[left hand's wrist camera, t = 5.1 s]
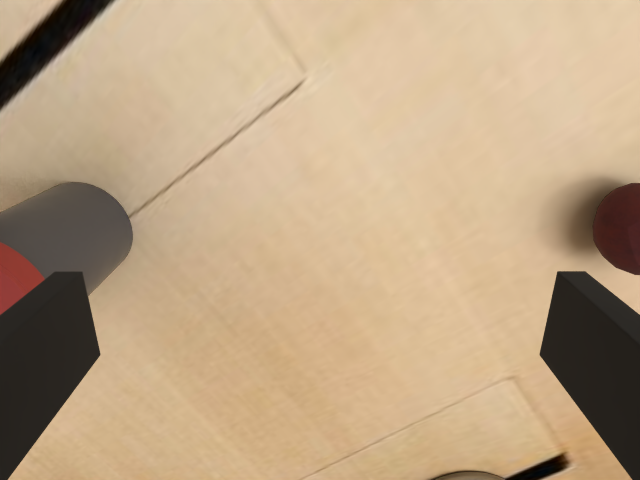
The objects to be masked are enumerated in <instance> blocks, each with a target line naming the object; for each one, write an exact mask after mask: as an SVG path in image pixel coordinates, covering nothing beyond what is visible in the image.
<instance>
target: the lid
mask: <svg viewBox="0 0 640 480" xmlns="http://www.w3.org/2000/svg"><path fill="white" fill-rule="evenodd" d="M44 280H45V279H44V277H43V276H42V275H41V274H40V272H39V271H38V270H37V269H36V268H35V267H34V266H33V265H32V264H31V263H30V262H29V261H28V260H27V259H26V258H24V257H23V256H22V255H21V254H19V253H18V252H17V251H15V250H13V249H12V248H10V247H9V246H7V245H5V244H3V243H1V242H0V315H1V314H2V313H3V312H5V311H6V310H7V309H8V308H10V307H11V306H12V305H13V304H15V303H16V302H17V301H18V300H20V299H21V298H22V297H23V296H25V295H26V294H27V293H28V292H30V291H31V290H32V289H33V288H35V287H36V286H37V285H39V284H40V283H41V282H42V281H44Z"/></svg>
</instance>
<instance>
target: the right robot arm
mask: <svg viewBox="0 0 640 480" xmlns="http://www.w3.org/2000/svg"><path fill="white" fill-rule="evenodd" d="M435 480H505V479H503V478H501V477H498V476H495V475H492V474H488V473H482V472H461V473H454V474H450V475H446V476H443V477H440V478H437V479H435Z"/></svg>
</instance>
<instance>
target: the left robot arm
mask: <svg viewBox="0 0 640 480" xmlns="http://www.w3.org/2000/svg"><path fill="white" fill-rule="evenodd" d="M99 356H100V350H99V346H98V341H97V336H96V332H95V327H94V323H93V318H92V313H91V309H90V304H89V299H88V295H87V290H86V285H85V281H84V276H83V271H55V272H54V273H52V274H51V275H50V276H49V277H47V278H46V279H45V280H44V281H42V282H41V283H40V284H39V285H37V286H36V287H35V288H33V289H32V290H31V291H30V292H28V293H27V294H26V295H25V296H23V297H22V298H21V299H20V300H18V301H17V302H16V303H15V304H13V305H12V306H11V307H10V308H8V309H7V310H6V311H5V312H3V313H2V314H1V315H0V480H8V478H9V477H10V476H11V474H12V473H13V472H14V470H15V469H16V468H17V466H18V465H19V464H20V462H21V461H22V460H23V458H24V457H25V455H26V454H27V453H28V451H29V450H30V449H31V447H32V446H33V445H34V443H35V442H36V441H37V439H38V438H39V437H40V435H41V434H42V433H43V431H44V430H45V429H46V427H47V426H48V425H49V423H50V422H51V421H52V419H53V418H54V417H55V415H56V414H57V412H58V411H59V410H60V408H61V407H62V406H63V404H64V403H65V402H66V400H67V399H68V398H69V396H70V395H71V394H72V392H73V391H74V390H75V388H76V387H77V386H78V384H79V383H80V382H81V380H82V379H83V378H84V376H85V375H86V374H87V372H88V371H89V370H90V368H91V367H92V365H93V364H94V363H95V361H96V360H97V359H98V357H99ZM540 356H541V357H542V359H543V360H544V361H545V363H546V364H547V365H548V367H549V368H550V370H551V371H552V372H553V374H554V375H555V376H556V378H557V379H558V380H559V382H560V383H561V384H562V386H563V387H564V388H565V390H566V391H567V392H568V394H569V395H570V396H571V398H572V399H573V400H574V402H575V403H576V404H577V406H578V407H579V408H580V410H581V411H582V412H583V414H584V415H585V417H586V418H587V419H588V421H589V422H590V423H591V425H592V426H593V427H594V429H595V430H596V431H597V433H598V434H599V435H600V437H601V438H602V439H603V441H604V442H605V443H606V445H607V446H608V447H609V449H610V450H611V451H612V453H613V454H614V455H615V457H616V458H617V460H618V461H619V462H620V464H621V465H622V466H623V468H624V469H625V470H626V472H627V473H628V474H629V476H630V477H631V478H632V480H640V315H639V314H638V313H637V312H635V311H634V310H633V309H632V308H630V307H629V306H628V305H627V304H625V303H624V302H623V301H622V300H620V299H619V298H618V297H617V296H615V295H614V294H613V293H612V292H610V291H609V290H608V289H607V288H605V287H604V286H603V285H601V284H600V283H599V282H598V281H596V280H595V279H594V278H593V277H591V276H590V275H589V274H588V273H586V272H585V271H557V276H556V281H555V285H554V290H553V295H552V299H551V304H550V309H549V313H548V318H547V323H546V327H545V332H544V336H543V341H542V346H541V350H540Z"/></svg>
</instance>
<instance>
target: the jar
mask: <svg viewBox="0 0 640 480" xmlns="http://www.w3.org/2000/svg"><path fill="white" fill-rule="evenodd" d="M132 235H133V234H132V227H131V223H130V220H129V218H128V215H127V214H126V212H125V210H124V209H123V207H122V206H121V205H120V204H119V203H118V201H117V200H116V199H114V198H113V197H112V196H111V195H110V194H108V193H107V192H105V191H104V190H102V189H100V188H98V187H95V186H93V185H89V184H85V183H79V182H71V183H64V184H60V185H57V186H55V187H53V188H51V189H48V190H46V191H44V192H42V193H40V194H38V195H36V196H34V197H32V198H30V199H27V200H25V201H23V202H21V203H19V204H17V205H15V206H13V207H11V208H9V209H7V210H4V211H2V212H0V242H1V243H3V244H5V245H7V246H9V247H10V248H12V249H13V250H15V251H17V252H18V253H19V254H21V255H22V256H23V257H24V258H26V259H27V260H28V261H29V262H30V263H31V264H32V265H33V266H34V267H35V268H36V269H37V270H38V271H39V272H40V274H41V275H42V276H43V277H44V279H46V278H47V277H49V276H50V275H51V274H52V273H54V272H55V271H83V276H84V281H85V285H86V290H87V295H88V296H89V295H90V294H91V293H92V292H93V291H94V290H95V289H96V288H97V287H98V286H99V285H100V284H101V283H102V282H103V281H104V279H105V278H106V277H107V276H108V275H109V274H110V273H111V272H112V271H113V270H114V269H115V268H116V267H117V266H118V265H119V264H120V263H121V262H122V261H123V260H124V259H125V258H126V256H127V255H128V253H129V251H130V248H131V245H132Z"/></svg>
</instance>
